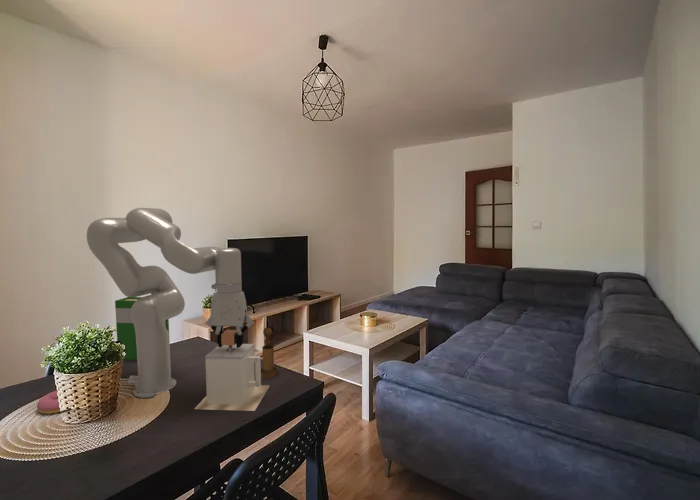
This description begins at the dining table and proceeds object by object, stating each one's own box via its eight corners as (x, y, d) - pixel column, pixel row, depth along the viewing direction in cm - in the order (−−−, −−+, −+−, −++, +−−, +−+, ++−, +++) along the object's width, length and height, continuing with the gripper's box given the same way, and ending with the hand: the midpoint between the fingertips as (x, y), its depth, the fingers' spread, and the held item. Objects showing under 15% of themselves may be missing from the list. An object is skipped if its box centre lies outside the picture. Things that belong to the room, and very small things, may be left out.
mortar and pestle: (273, 381, 123) (272, 331, 122) (255, 380, 124) (254, 330, 123) (280, 373, 130) (279, 325, 128) (264, 372, 131) (263, 324, 130)
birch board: (194, 412, 103) (193, 409, 103) (217, 386, 119) (217, 384, 119) (254, 414, 103) (254, 410, 102) (270, 388, 118) (270, 385, 118)
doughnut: (48, 420, 100) (47, 406, 100) (29, 411, 105) (28, 397, 104) (91, 402, 110) (90, 389, 109) (72, 394, 115) (71, 382, 114)
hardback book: (170, 353, 150) (167, 297, 148) (158, 360, 142) (156, 301, 141) (131, 352, 152) (128, 296, 150) (118, 358, 144) (114, 300, 142)
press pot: (207, 404, 106) (205, 356, 105) (222, 387, 117) (220, 343, 116) (254, 405, 105) (253, 357, 104) (265, 388, 116) (264, 344, 115)
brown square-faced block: (212, 396, 107) (210, 336, 106) (224, 383, 116) (222, 327, 114) (240, 396, 107) (238, 336, 105) (249, 384, 115) (248, 328, 114)
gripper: (195, 290, 105) (198, 350, 107) (252, 290, 105) (253, 351, 106) (207, 285, 113) (209, 341, 114) (259, 286, 112) (261, 342, 113)
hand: (230, 345), depth 110 cm, fingers open, 5 cm apart
